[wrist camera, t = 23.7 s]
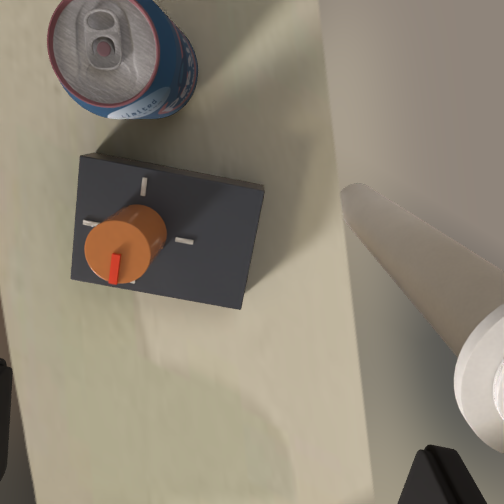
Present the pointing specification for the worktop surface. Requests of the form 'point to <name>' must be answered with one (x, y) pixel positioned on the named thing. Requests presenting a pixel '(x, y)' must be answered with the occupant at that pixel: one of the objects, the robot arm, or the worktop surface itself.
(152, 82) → the soda can
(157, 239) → the knob
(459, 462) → the robot arm
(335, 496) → the worktop surface
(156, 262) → the cooker panel
